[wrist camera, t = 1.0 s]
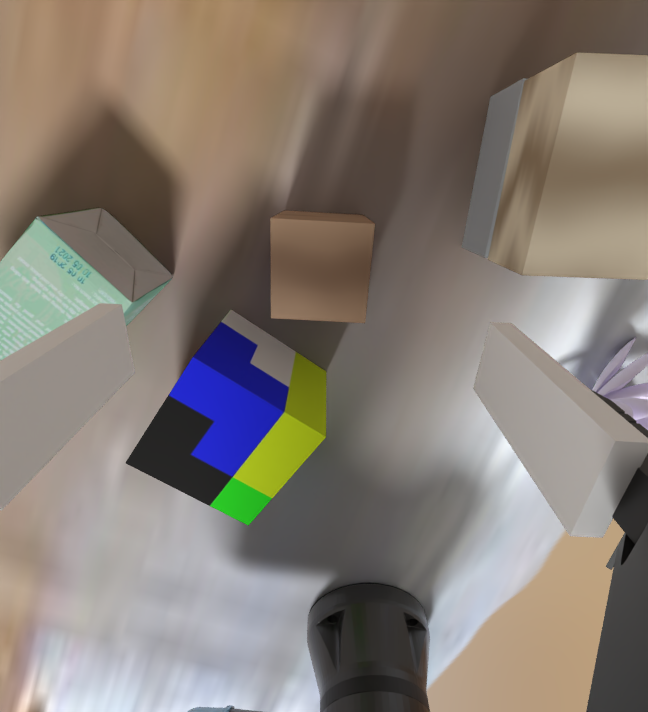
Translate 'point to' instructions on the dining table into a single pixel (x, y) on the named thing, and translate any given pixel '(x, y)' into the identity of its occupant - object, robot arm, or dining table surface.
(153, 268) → the box
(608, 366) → the water lily
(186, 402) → the puzzle toy
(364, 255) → the walnut block
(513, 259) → the tower slab upper
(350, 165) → the dining table surface
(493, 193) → the tower slab lower
